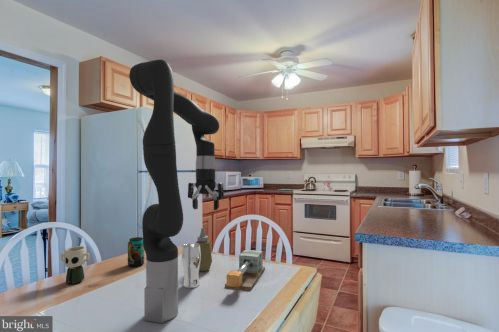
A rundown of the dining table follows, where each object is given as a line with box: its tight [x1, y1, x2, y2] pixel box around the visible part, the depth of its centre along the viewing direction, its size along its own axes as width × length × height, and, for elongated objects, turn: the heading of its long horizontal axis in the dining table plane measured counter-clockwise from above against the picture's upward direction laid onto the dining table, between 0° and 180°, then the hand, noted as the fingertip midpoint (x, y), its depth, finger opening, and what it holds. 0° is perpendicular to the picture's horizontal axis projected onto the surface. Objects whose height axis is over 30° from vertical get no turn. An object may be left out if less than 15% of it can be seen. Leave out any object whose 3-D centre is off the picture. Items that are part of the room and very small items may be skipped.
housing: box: [224, 249, 266, 291], centre depth 115 cm, size 22×10×8 cm, turn 163°
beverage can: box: [127, 236, 145, 268], centre depth 130 cm, size 7×7×12 cm
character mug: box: [60, 245, 90, 285], centre depth 111 cm, size 11×7×13 cm, turn 91°
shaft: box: [226, 260, 253, 287], centre depth 110 cm, size 22×4×4 cm, turn 163°
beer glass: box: [181, 242, 201, 289], centre depth 108 cm, size 7×7×15 cm
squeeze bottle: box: [195, 227, 213, 272], centre depth 124 cm, size 8×8×18 cm
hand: (205, 209), depth 111 cm, fingers open, 8 cm apart
